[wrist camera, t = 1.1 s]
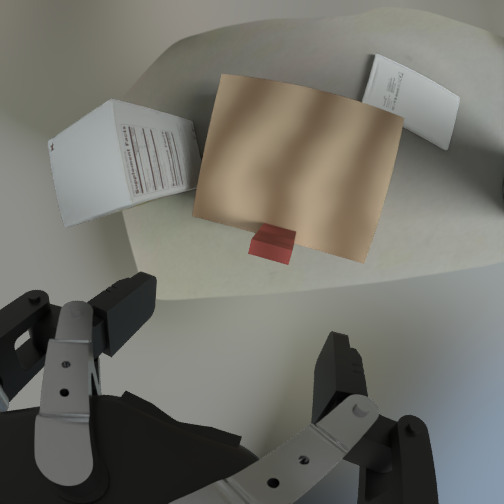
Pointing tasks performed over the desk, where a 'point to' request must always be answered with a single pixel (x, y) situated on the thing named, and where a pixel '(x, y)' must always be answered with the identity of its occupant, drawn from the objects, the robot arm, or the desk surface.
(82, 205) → the supplement box
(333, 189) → the lid
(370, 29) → the desk surface
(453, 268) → the desk surface
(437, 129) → the external hard drive
